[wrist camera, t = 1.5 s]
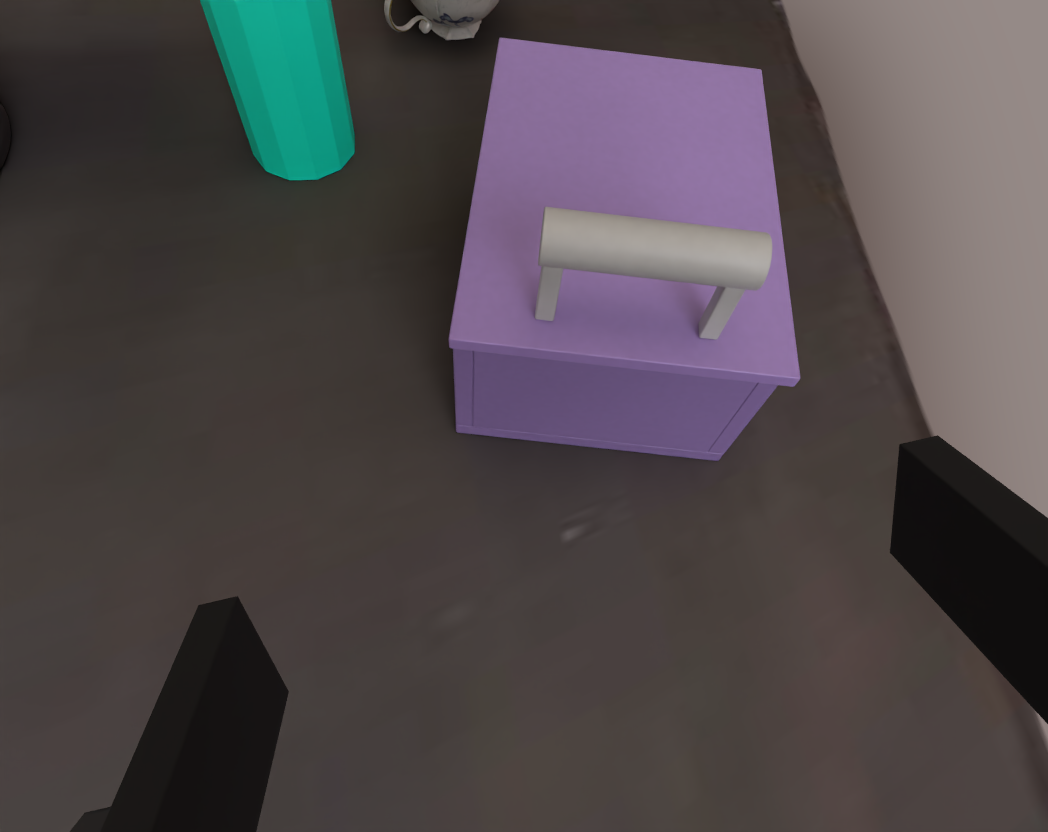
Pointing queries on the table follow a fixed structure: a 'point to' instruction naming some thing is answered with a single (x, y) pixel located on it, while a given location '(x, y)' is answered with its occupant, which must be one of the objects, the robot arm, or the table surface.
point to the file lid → (626, 218)
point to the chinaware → (446, 17)
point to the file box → (601, 405)
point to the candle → (286, 82)
